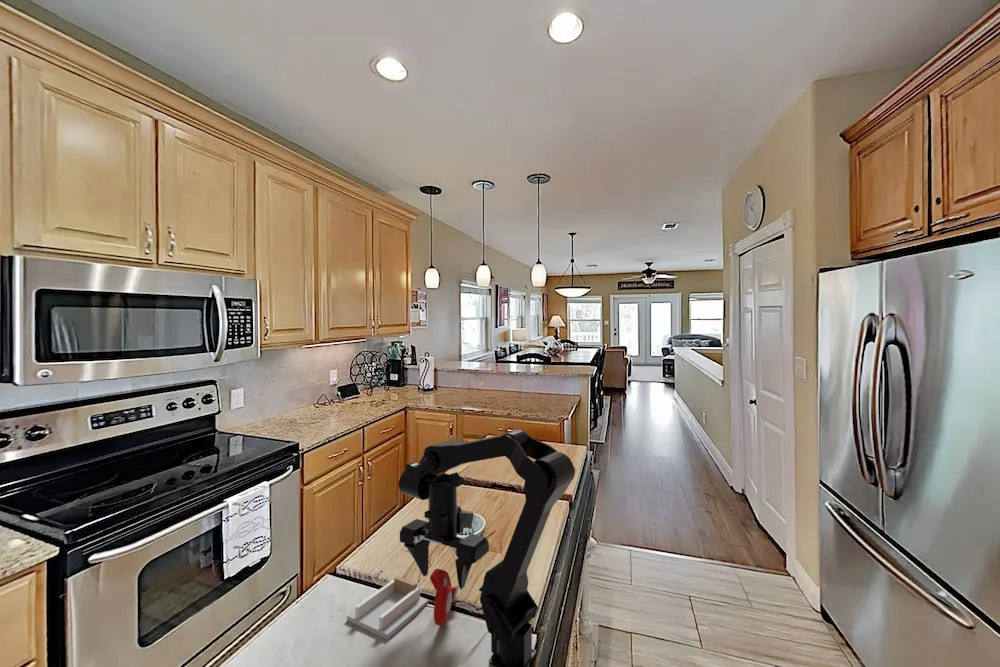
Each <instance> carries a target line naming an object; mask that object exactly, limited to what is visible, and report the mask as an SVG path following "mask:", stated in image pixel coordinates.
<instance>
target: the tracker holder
mask: <svg viewBox="0 0 1000 667" xmlns="http://www.w3.org/2000/svg"><path fill="white" fill-rule="evenodd" d="M429 579H430V582H431V583H432V585H433V587H434V590H435V596H434V605H433V620H434V623H435V625H436V626H443V625H444V624H445V623H446V621H447V619H448V616H449V614H450V612H451V609H452V605H453V604H452V603H454V602H456V598H457V594H458V590H459V584H458V585H456V586H453V587H452V583H451V578H450V575H449V573H448V571H446V570H445V569H439V568H435V569H433V571H432V572H431V574H430V576H429Z"/></svg>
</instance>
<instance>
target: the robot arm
mask: <svg viewBox="0 0 1000 667" xmlns="http://www.w3.org/2000/svg"><path fill="white" fill-rule="evenodd" d="M500 457H506V458H507V460H509V461H510V463H511V466H512V468H513V469H514V471H515V473H516V474H517V475H518V476H519V477H520V478H521V479H523V480H524V484H523V490H524V496H525V497H524V498H525V501H524V505H523V507H522V510H521V513H520V514H519V517H518V520H517V523H516V526H515V527H514V528H515V529H514V531H513V534H512V537H511V539H510V541H509V544H508V547H507V549H506V552H505V554H504V556H503V559H502V560H500V561H499V562H498V563H496V564H495V565H494V566H492V567H491V568H490V569H488V570H487V571H485V575H484V578H483V582H482V585H481V587H479V589H478V591H479V592H480V597H479V602H480V604H481V609H482V613H483V616H484V620H485V621H484V622H485V624H486V629H487V631H488V633H489V634H490V638H491V639H490V640H491V642H490V643H491V644H490V645H491V646H490V648H491V650H490V651H491V653H492V655H491V656H490V657H489V658H488V664H489V665H491V666H494V667H529V665H530V663H531V662H532V661H533V659H534V658H535V656H536V653H537V650H536V649H535V648H533V640H532V639H533V635H532V634H533V633H532V632H533V626H532V623H530V622H531V621H532V620H533V619H534V618H535V617H536V616H537V613H538V610H539V607H538V605H537V602H535V600H534V599H533V597H532V595H531V594H530V592H529V591H528V587H529V577H528V573H527V572H528V569H529V567H530V563H531V561H532V559H533V557H534V554H535V552H536V549H537V546H538V544H539V541H540V539H541V536H542V534H543V531H544V529H545V526H546V524H547V521H548V518H549V516H550V514H551V511H552V508H553V507H554V506H555V504H557V502H558V500H559V499H560V498H561V497H562V496H563V495H564V493H565V492H566V491H567V489H568V488H569V486H570V485H571V483H572V481H573V480H574V478H575V477H576V476H575V474H576V468H575V466H574V464H573V461H572V460H571V459H570V457H569V456H568V455H567V454H565V453H563V452H560V451H558V450H557V449H555V448H554V447H552V446H551V445H549V444H548V443H546V442H543V441H540V440H538V439H537V438H534V437H532V436H531V435H530V434H528V433H527V432H525V431H524V430H521V429H515V430H512V431H509V432H506V433H503V434H498V435H494V436H489V437H484V438H479V439H476V440H475V439H474V440H471V441H464V440H462V439H449V440H444V441H442V442H439V443H435V444H432V445H428V446H426V447H425V448H424V452H423V456H422V458H421V459H420V461H419V462H414V461H411V462H409V463H406V464H405V469H404V471H403V472H402V473H401V475H400V478H399V481H398V483H397V484H398V490H399V492H400V493H401V494H403V495H406V496H410V497H411V498H415V499H419V500H421V501H426V500H428V510H426V511H424V514H423V515H424V516H423V517H424V518H425V519H428V521H426V520H422V519H418V518H415V519H414V520H412V521H410V522H408V523H406V524H405V525H403V526H402V527H401V529H400V531H399V542H400V543H403V545H404V546H403V547H405V548H406V549H407V550H408V551H409V554H410V555H411V556H412V558H413V560H414V561H415V563H416V565H417V567H418V569H419V570H420V574H422V576H423V577H427V575H429V563H430V561H429V554H430V553H429V552H430V548H429V547H430V543H431V542H433V543H436V544H439V545H443V546H447V547H450V548H454V549H455V552H456V554H455V556H456V557H457V559H455V560H454V561H455V569H456V577H457V583H458V586H459V587H458V589H460V590H463V589H464V588H465V586H466V583H467V580H468V577H469V574H470V572H471V571H470V570H471V569H472V566H473V564H475V563H477V562H479V560H481V558H483V557H484V556H485V555H486V554H488V553H489V551H490V542H489V539H488V538H487V537H486V536H484V535H483V536H482V535H478V534H475V533H470V534H468V535H467V536H466V537H465V538H462V537H458V534H462V533H464V529H469V530H470V529H472V527H473V521H474V517H475V516H474V515H475V514H474V512H471V511H468V510H464V509H462V507H461V506H458V500H457V499H458V490H457V489H458V488H459V487H461V486H464V485H465V484H466V480H465V479H464V478H463V477H462V476H460V474H459V473H458V471H457V472H454V473H451V474H449V473H446V472H448V471H450V470H453V469H456V468H457V467H460V466H462V465H465V464H467V463H469V464H470V463H473V462H474V463H475V462H479V461H484V460H489V459H490V460H491V459H495V458H500ZM532 459H533V460H532Z"/></svg>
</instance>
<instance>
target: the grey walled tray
mask: <svg viewBox="0 0 1000 667" xmlns="http://www.w3.org/2000/svg"><path fill="white" fill-rule="evenodd" d="M393 578H394V579H392V580H391V581H389V582H388V583H386V584H385V585H384V586H382V587H380V588H379V589H377V591H375V592H373V593H372V594H371V595H369V596H368V597H367V598H365V599H364V600H362V601H361V602H359V603H358V604H356V605H355V609H354V610H353V611H351V612H350V613H349V614H347V616H346V621H347V622H349V623H351V624H353V625H355V626H357V627H359V628H361V629H364V630H366V631H368V632H370V633H372V634H373V635H374V634H375V635H376V636H379V637H381V638H382V639H385V640H387V641H389V639H390V638H392V637H393V636H394V635H395V634H396V633H397V632H398V631H400V630H401V629H402V628H403V627H404V626H406V625H407V624H408V623H410V621H411V620H413V618H415V617H416V616H417V615H418V614H419V613H420V612H421V611H422V610H423V609H424V608H425V607H426V606H427V605H428V604H429V599H427V598H425V597H422V596H421V588H420V587H418V583H417V582H415V581H413V580H409V579H406V578H404V577H401V576H399V575H397V576H395V577H393Z"/></svg>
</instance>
